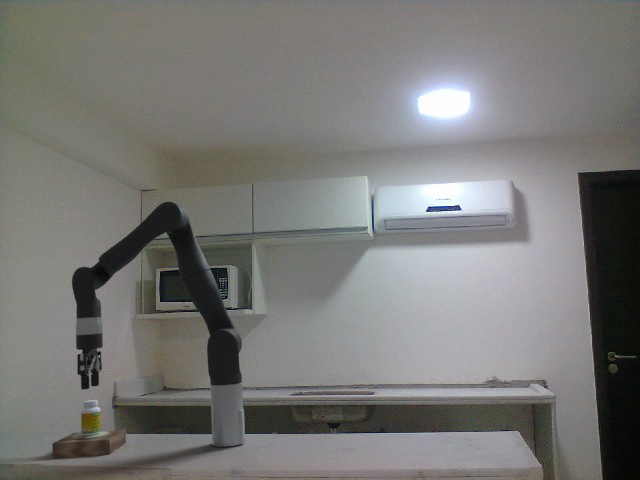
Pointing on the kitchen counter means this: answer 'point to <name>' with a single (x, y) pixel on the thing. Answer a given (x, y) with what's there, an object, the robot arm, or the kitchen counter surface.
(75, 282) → the robot arm
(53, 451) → the plinth
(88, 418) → the supplement bottle
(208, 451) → the kitchen counter surface
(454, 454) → the kitchen counter surface
